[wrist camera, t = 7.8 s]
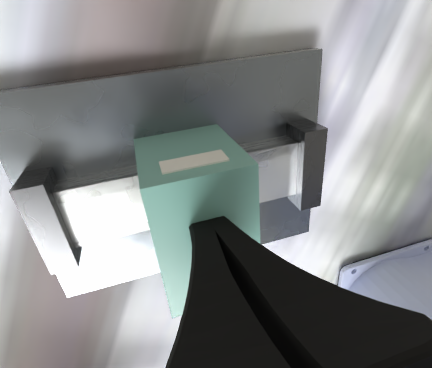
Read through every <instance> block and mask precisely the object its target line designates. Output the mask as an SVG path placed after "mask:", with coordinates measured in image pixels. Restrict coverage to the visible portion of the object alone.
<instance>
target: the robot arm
mask: <svg viewBox="0 0 432 368" xmlns="http://www.w3.org/2000/svg"><path fill="white" fill-rule="evenodd" d="M189 231H190V237H191V243H192V260H191V271H190V279H189V286H188V291H187V297H186V301H185V306H184V310H183V314H182V318H181V321H180V325H179V329H178V332H177V336H176V339H175V342H174V345H173V348H172V350H171V353H170V356H169V359H168V362H167V365H166V368H432V239H430V240H427V241H424V242H420V243H417V244H414V245H411V246H407V247H404V248H401V249H398V250H395V251H391V252H388V253H385V254H382V255H378V256H375V257H372V258H369V259H366V260H362V261H359V262H356V263H353V264H349V265H346V266H344V267H343V268H342V269H341V271H340V276H339V282H338V286H337V285H334V284H332V283H330V282H327V281H325V280H323V279H320V278H318V277H316V276H314V275H312V274H310V273H308V272H306V271H304V270H302V269H300V268H298V267H296V266H295V265H293V264H291V263H289V262H287V261H286V260H284V259H282V258H281V257H279V256H278V255H276V254H274V253H273V252H271V251H270V250H268V249H267V248H265V247H264V246H262V245H261V244H260V243H258V242H257V241H256V240H254V239H253V238H251V237H250V236H249V235H247V234H246V233H245V232H244V231H242V230H241V229H240V228H238V227H237V226H236V225H235V224H234V223H232V222H231V221H230V220H229V219H228V218H226V217H225V216H221V217H217V218H213V219H209V220H205V221H200V222H196V223H192V224H191V225H190V226H189Z"/></svg>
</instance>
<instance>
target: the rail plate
mask: <svg viewBox="0 0 432 368" xmlns="http://www.w3.org/2000/svg"><path fill="white" fill-rule="evenodd" d="M321 61H322V49H317V48H311V49H303V50H296V51H288V52H281V53H273V54H266V55H259V56H251V57H244V58H236V59H229V60H221V61H214V62H206V63H199V64H192V65H184V66H177V67H169V68H162V69H154V70H147V71H139V72H132V73H125V74H117V75H110V76H102V77H95V78H87V79H80V80H72V81H65V82H58V83H50V84H43V85H35V86H28V87H20V88H13V89H5V90H0V162H1V164H2V166H3V168H4V170H5V172H6V174H7V176H8V178H9V180H10V182H11V184H12V186H13V187H12V188H11V190H10V191H9V192H10V194H11V196H12V198H13V200H14V202H15V204H16V206H17V208H18V210H19V212H20V214H21V216H22V218H23V220H24V222H25V224H26V226H27V228H28V230H29V232H30V234H31V236H32V238H33V240H34V242H35V244H36V246H37V248H38V250H39V252H40V254H41V256H42V258H43V260H44V262H45V264H46V266H47V268H48V270H49V272H50V274H51V275H52V274H56V276H57V278H58V280H59V282H60V284H61V286H62V288H63V290H64V292H65V294H66V296H67V298H69V297H72V296H76V295H79V294H83V293H87V292H90V291H94V290H98V289H101V288H105V287H109V286H112V285H116V284H119V283H123V282H127V281H130V280H134V279H138V278H141V277H145V276H149V275H152V274H156V273H160V268H159V264H158V260H157V256H156V252H155V248H154V244H153V240H152V236H151V232H150V228H149V224H148V220H147V216H146V212H145V208H144V204H143V201H142V197H141V193H140V188H139V180H138V172H137V164H136V156H135V148H134V140H133V139H137V138H142V137H148V136H154V135H159V134H165V133H170V132H176V131H181V130H187V129H193V128H198V127H204V126H209V125H215V124H217V125H218V126H220V127H221V128H222V129H223V130H224V131H225V132H226V133H227V134H228V135H229V136H230V137H231V138H232V139H233V140H234V141H235V142H236V143H237V144H238V145H239V146H240V147H241V148H242V149H243V150H244V151H246V152H247V153H248V154H249V155H250V156H251V157H252V158H253V159H254V160H255V161H256V162H257V163H258V166H259V208H260V244H265V243H269V242H272V241H276V240H280V239H283V238H287V237H291V236H294V235H298V234H302V233H305V232H309V219H310V208H313V207H317V206H320V204H321V193H322V183H323V172H324V162H325V152H326V141H327V131H328V128H326V127H324V126H322V125H319V124H317V114H318V101H319V88H320V75H321Z"/></svg>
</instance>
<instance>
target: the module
mask: <svg viewBox="0 0 432 368" xmlns="http://www.w3.org/2000/svg"><path fill="white" fill-rule="evenodd" d="M133 140H134V148H135V156H136V164H137V172H138V180H139V188H140V193H141V197H142V201H143V204H144V208H145V212H146V216H147V220H148V224H149V228H150V232H151V236H152V240H153V244H154V248H155V252H156V256H157V260H158V264H159V268H160V272H161V276H162V280H163V284H164V288H165V292H166V296H167V300H168V304H169V308H170V312H171V316H172V318H175V317H178V316H182V314H183V310H184V306H185V301H186V297H187V291H188V286H189V279H190V271H191V260H192V243H191V237H190V231H189V226H190V225H191V224H192V223H196V222H200V221H205V220H209V219H213V218H217V217H221V216H225V217H226V218H228V219H229V220H230V221H231V222H232V223H234V224H235V225H236V226H237V227H238V228H240V229H241V230H242V231H244V232H245V233H246V234H247V235H249V236H250V237H251V238H253V239H254V240H256V241H257V242H258V243H260V208H259V166H258V163H257V162H256V161H255V160H254V159H253V158H252V157H251V156H250V155H249V154H248V153H247V152H246V151H244V150H243V149H242V148H241V147H240V146H239V145H238V144H237V143H236V142H235V141H234V140H233V139H232V138H231V137H230V136H229V135H228V134H227V133H226V132H225V131H224V130H223V129H222V128H221V127H220V126H218V125H217V124H215V125H209V126H204V127H198V128H193V129H187V130H181V131H176V132H170V133H165V134H159V135H154V136H148V137H142V138H137V139H133Z"/></svg>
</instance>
